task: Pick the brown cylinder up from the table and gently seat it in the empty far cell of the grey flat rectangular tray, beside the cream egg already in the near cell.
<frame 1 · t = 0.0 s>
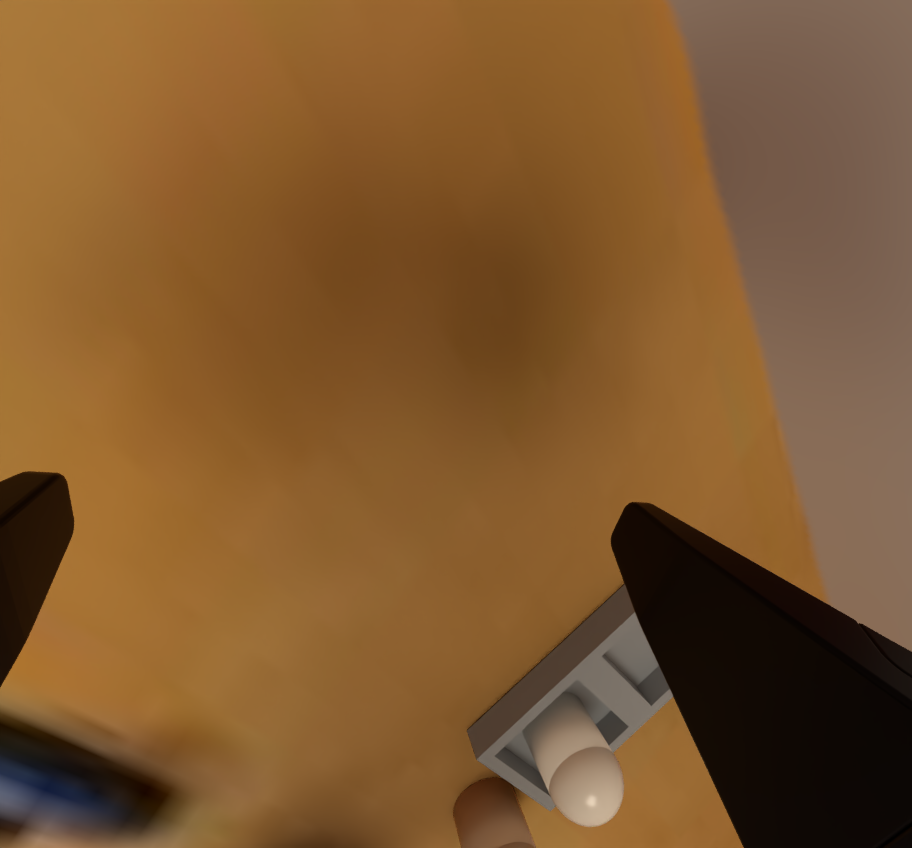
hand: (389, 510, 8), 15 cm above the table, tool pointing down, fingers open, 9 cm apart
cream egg: (552, 719, 31), resting on grey flat rectangular tray
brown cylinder: (484, 803, 32), on the table
grey flat rectangular tray: (598, 669, 32), on the table
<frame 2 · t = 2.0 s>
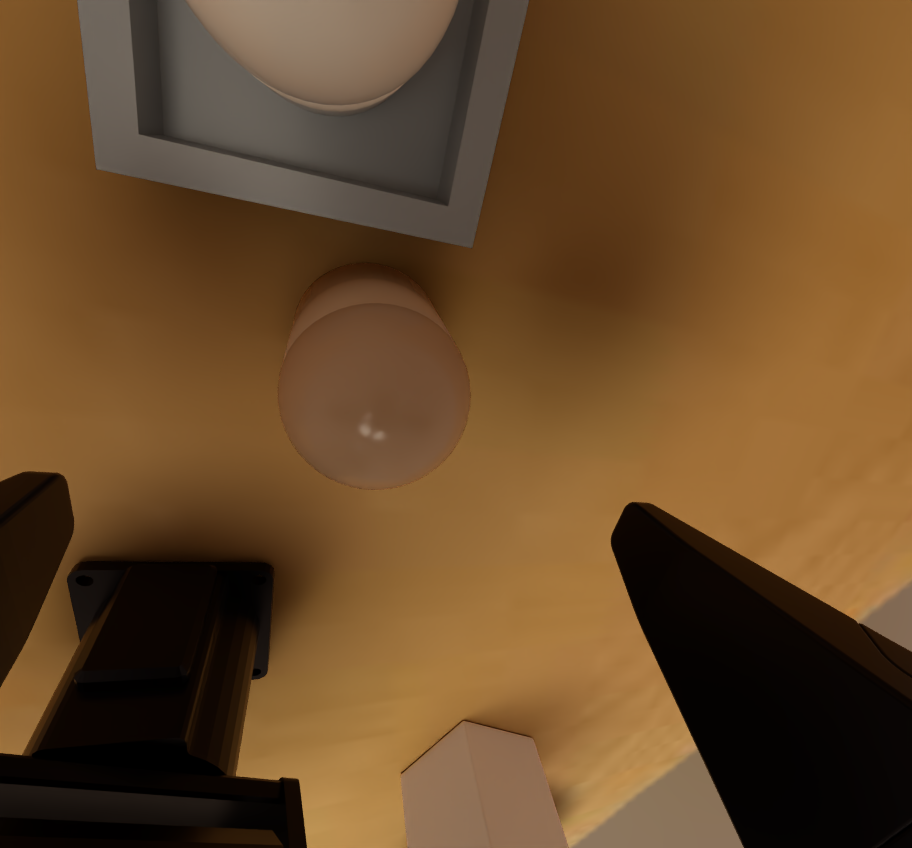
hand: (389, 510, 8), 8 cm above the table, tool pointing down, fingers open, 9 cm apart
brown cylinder: (368, 337, 15), on the table
milk: (467, 751, 29), on the table
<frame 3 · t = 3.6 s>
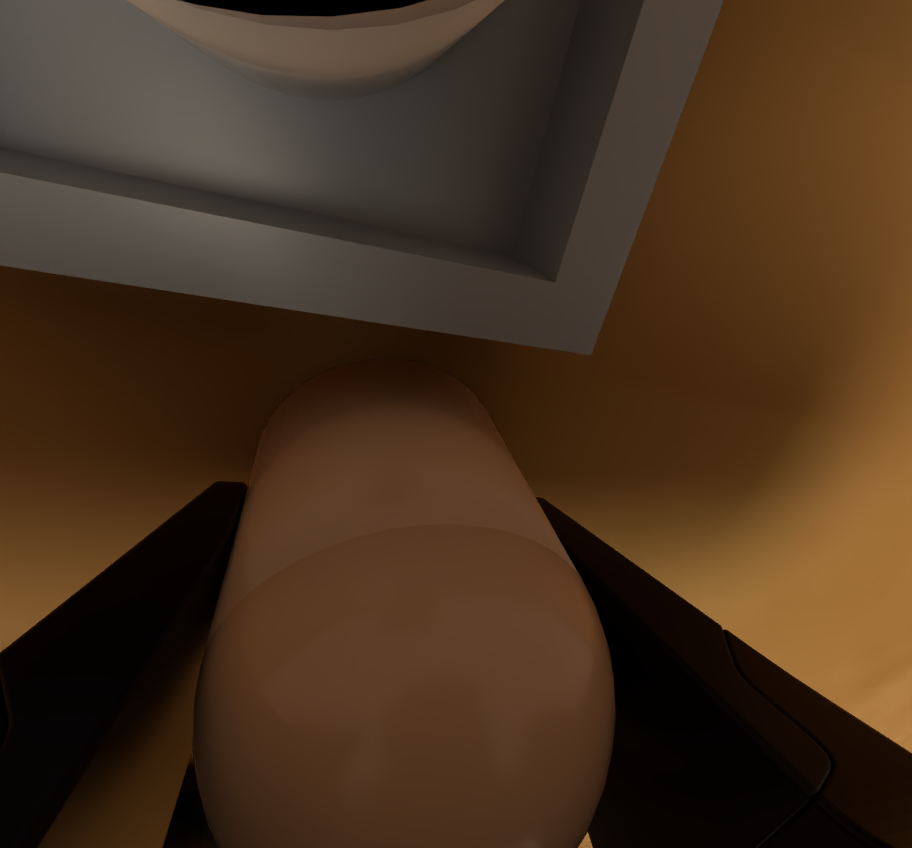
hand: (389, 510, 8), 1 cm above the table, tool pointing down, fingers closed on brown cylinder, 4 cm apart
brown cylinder: (383, 470, 9), on the table, touching gripper
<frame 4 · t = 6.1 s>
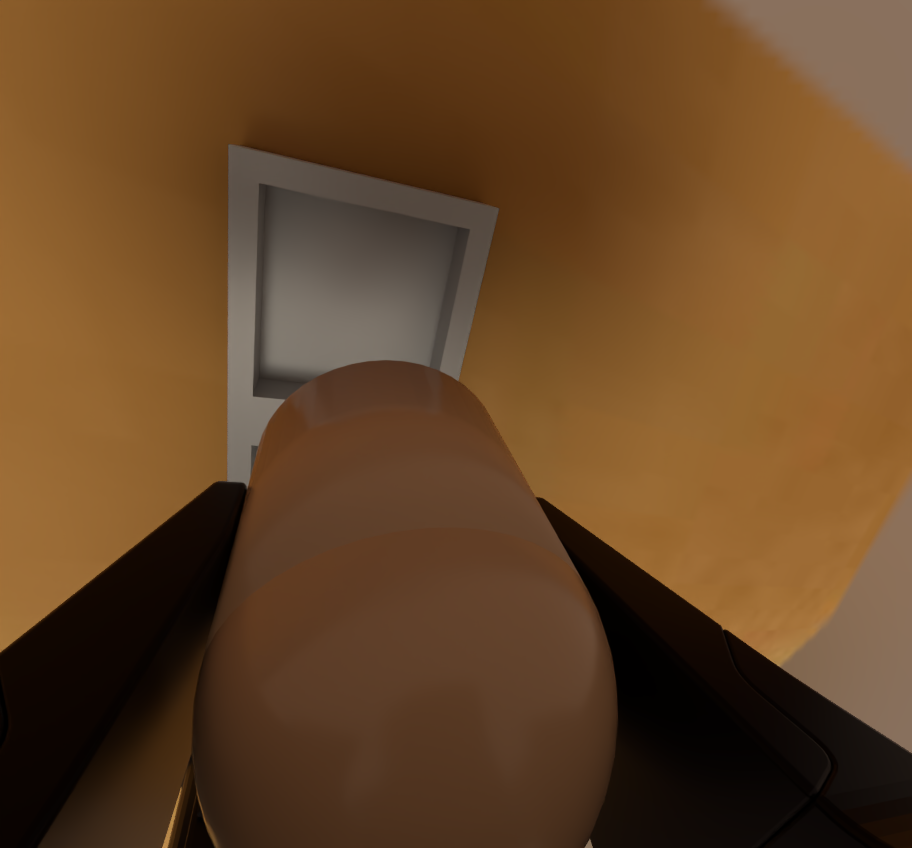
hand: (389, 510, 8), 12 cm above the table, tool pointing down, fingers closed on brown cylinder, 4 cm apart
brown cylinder: (384, 471, 9), point 11 cm above the table, touching gripper
grey flat rectangular tray: (342, 405, 20), on the table
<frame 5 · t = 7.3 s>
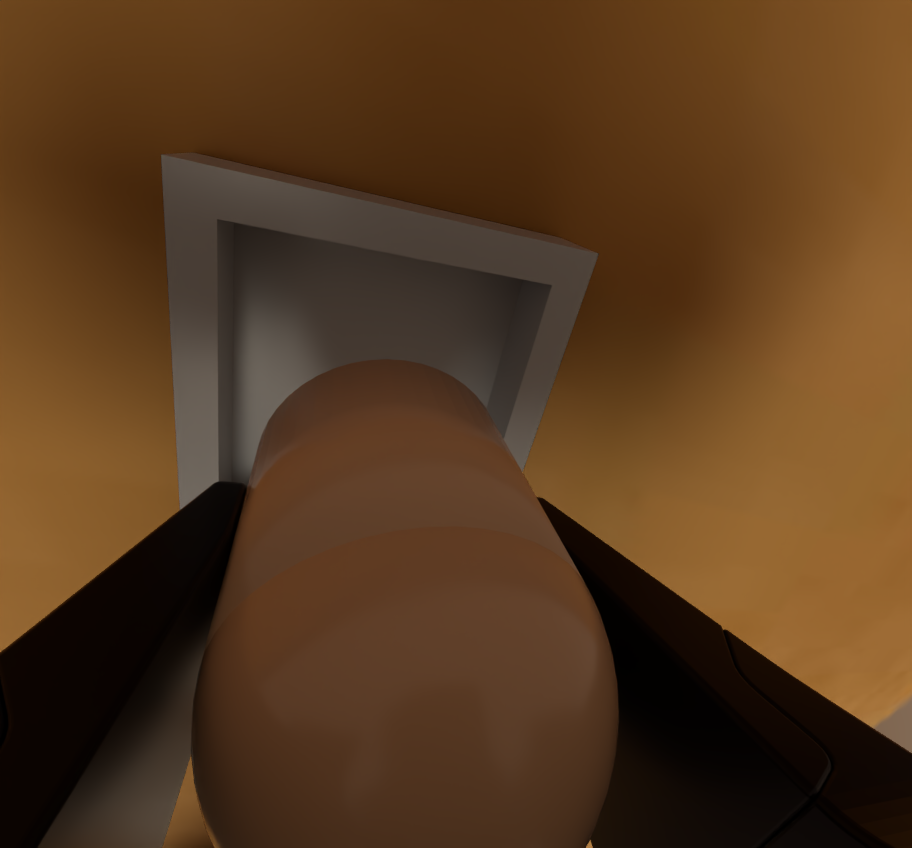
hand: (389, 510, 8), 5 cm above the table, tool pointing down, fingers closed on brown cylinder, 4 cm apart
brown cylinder: (384, 470, 9), point 4 cm above the table, touching gripper
grey flat rectangular tray: (350, 508, 14), on the table
when the fingers open (3 cm above the table, at t = 8.5 s): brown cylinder drops 2 cm, resting on grey flat rectangular tray.
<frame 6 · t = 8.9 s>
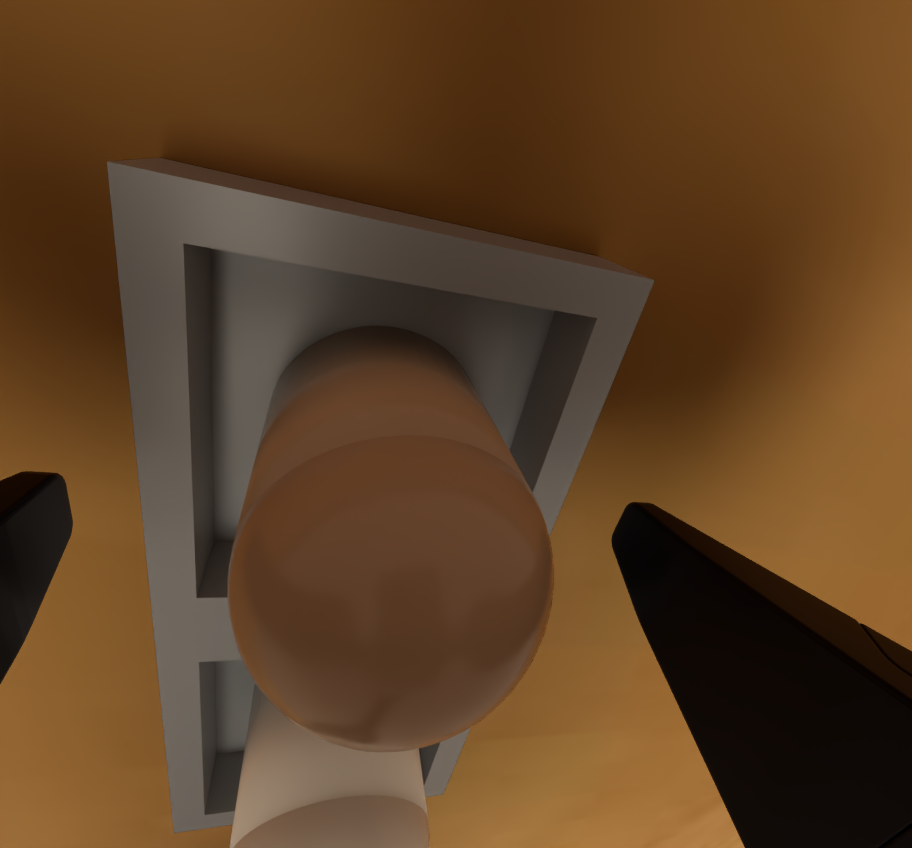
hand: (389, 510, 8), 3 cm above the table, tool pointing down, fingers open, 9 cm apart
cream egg: (333, 679, 14), resting on grey flat rectangular tray
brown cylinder: (377, 425, 10), resting on grey flat rectangular tray
grey flat rectangular tray: (351, 561, 12), on the table
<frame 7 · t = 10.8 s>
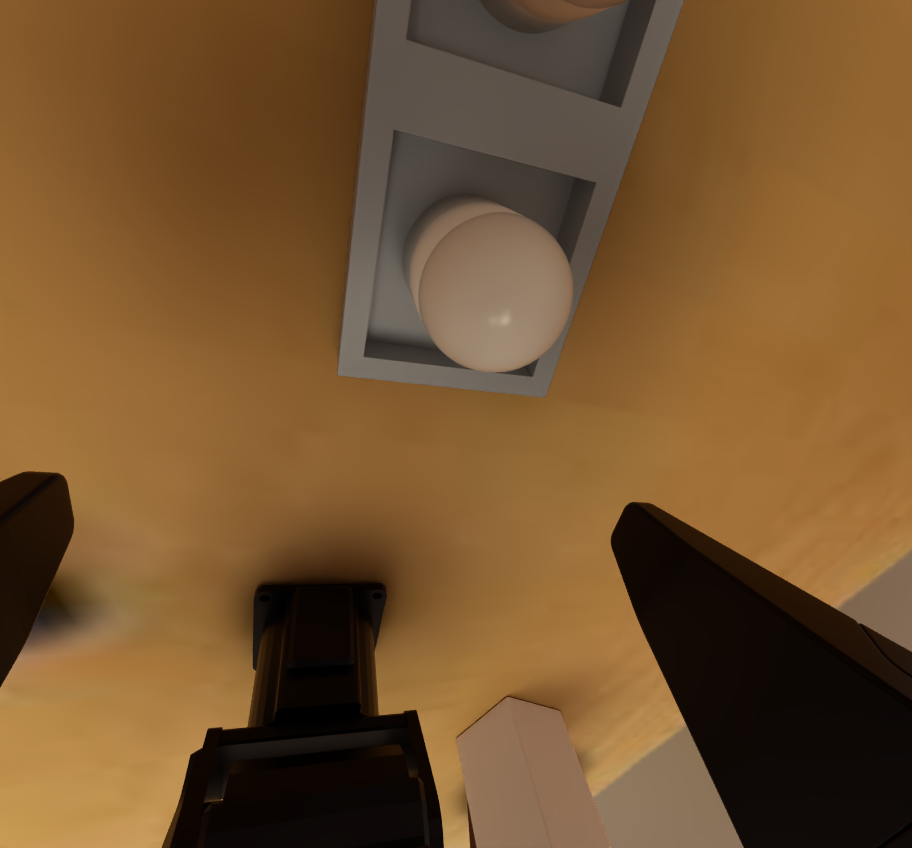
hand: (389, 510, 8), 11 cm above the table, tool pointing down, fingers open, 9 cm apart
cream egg: (463, 262, 17), resting on grey flat rectangular tray
grey flat rectangular tray: (492, 119, 15), on the table
milk: (507, 721, 37), on the table
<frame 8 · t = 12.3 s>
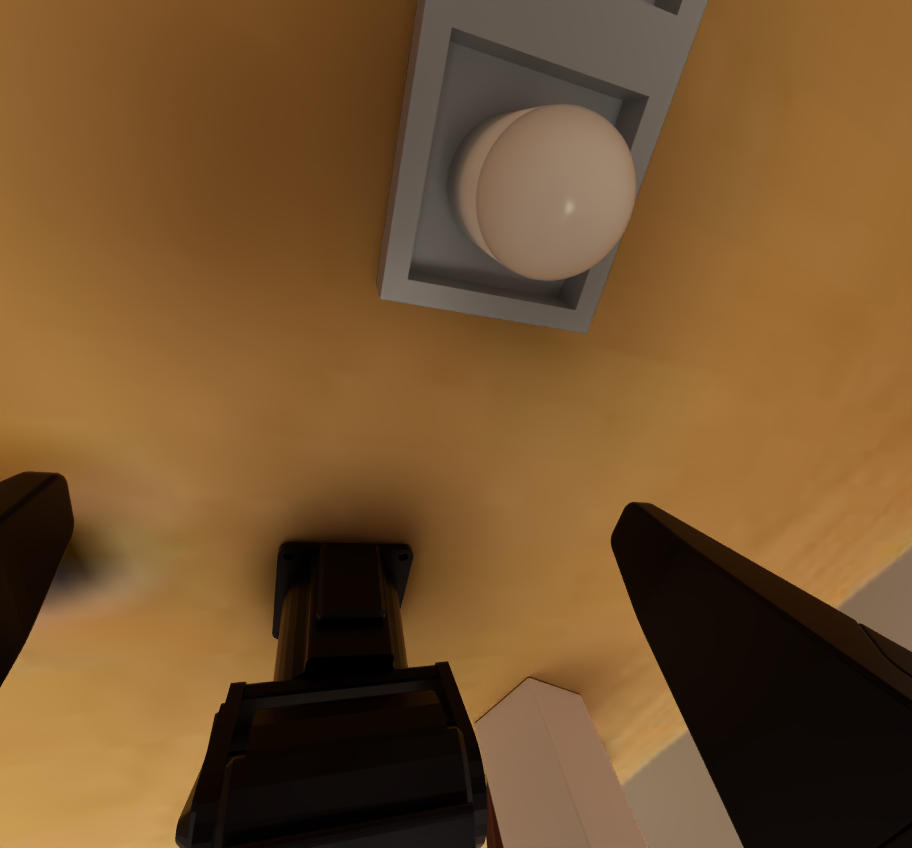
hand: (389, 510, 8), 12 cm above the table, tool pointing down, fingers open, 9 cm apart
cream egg: (508, 187, 17), resting on grey flat rectangular tray
grey flat rectangular tray: (542, 35, 15), on the table
muffin: (530, 777, 42), on the table
milk: (527, 706, 35), on the table
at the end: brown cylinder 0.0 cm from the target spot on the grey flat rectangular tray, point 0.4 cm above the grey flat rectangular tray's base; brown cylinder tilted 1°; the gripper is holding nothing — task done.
